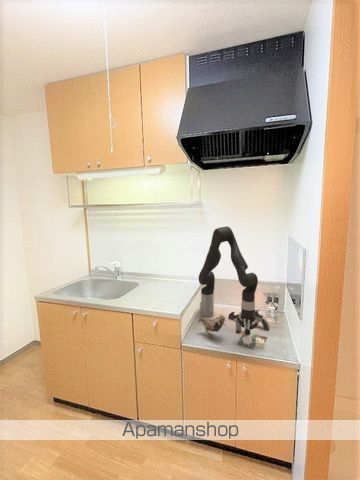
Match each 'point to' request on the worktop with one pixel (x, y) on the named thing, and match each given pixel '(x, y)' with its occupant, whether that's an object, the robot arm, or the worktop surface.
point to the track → (251, 335)
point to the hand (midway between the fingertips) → (247, 334)
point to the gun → (257, 318)
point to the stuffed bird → (212, 323)
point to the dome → (247, 340)
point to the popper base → (246, 344)
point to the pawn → (238, 327)
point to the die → (259, 343)
